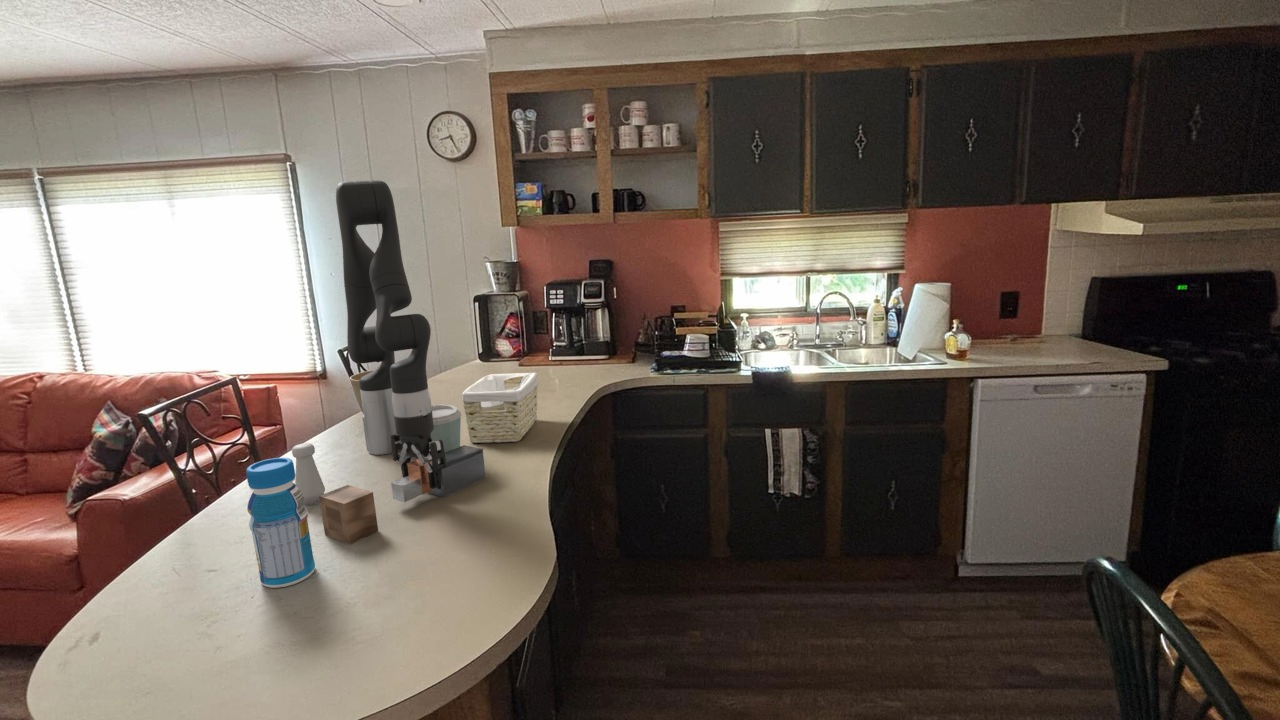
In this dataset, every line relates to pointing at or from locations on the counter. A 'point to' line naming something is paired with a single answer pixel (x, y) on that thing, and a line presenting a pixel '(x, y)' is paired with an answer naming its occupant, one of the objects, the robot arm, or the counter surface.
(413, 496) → the grey square bar
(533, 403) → the storage basket
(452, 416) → the disposable coffee cup
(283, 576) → the beverage bottle
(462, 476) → the sleeve
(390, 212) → the robot arm
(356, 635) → the counter surface
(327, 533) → the cardboard box
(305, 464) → the salt shaker
